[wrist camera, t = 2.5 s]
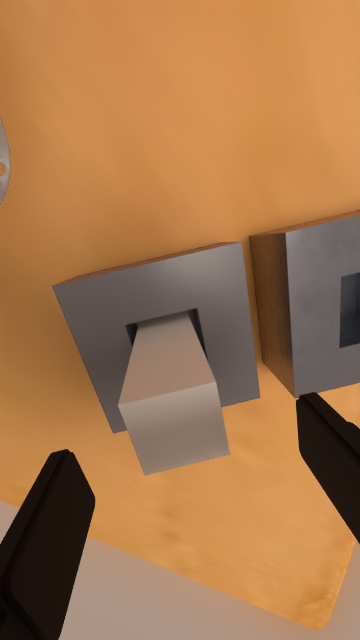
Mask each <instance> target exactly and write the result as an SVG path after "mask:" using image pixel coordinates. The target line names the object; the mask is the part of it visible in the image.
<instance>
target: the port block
mask: <svg viewBox="0 0 360 640" xmlns="http://www.w3.org/2000/svg"><path fill="white" fill-rule="evenodd" d="M250 245H251V255H252V264H253V273H254V282H255V292H256V301H257V310H258V320H259V329H260V338H261V347H262V357H263V363H264V364H265V365H266V366H267V367H268V368H269V369H270V371H271V372H272V373H273V374H274V375H275V376H276V377H277V379H278V380H279V381H280V382H281V383H282V384H283V385H284V386H285V388H286V389H287V390H288V391H289V392H290V393H291V394H292V395H293V397H294V398H299V396H300V395H303V394H307V393H311V392H316V393H319V392H323V391H327V390H331V389H336V388H340V387H344V386H348V385H352V384H356V383H360V210H359V211H354V212H350V213H346V214H342V215H337V216H333V217H329V218H324V219H320V220H316V221H312V222H307V223H303V224H299V225H295V226H290V227H286V228H282V229H277V230H273V231H269V232H265V233H260V234H256V235H252V236H250Z"/></svg>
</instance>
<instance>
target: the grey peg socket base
mask: <svg viewBox="0 0 360 640" xmlns="http://www.w3.org/2000/svg"><path fill="white" fill-rule="evenodd" d="M52 287H53V290H54V292H55V294H56V297H57V299H58V302H59V304H60V307H61V309H62V311H63V314H64V316H65V319H66V321H67V323H68V326H69V328H70V331H71V333H72V335H73V338H74V340H75V343H76V345H77V348H78V350H79V352H80V355H81V357H82V360H83V362H84V364H85V367H86V369H87V372H88V374H89V376H90V379H91V381H92V384H93V386H94V389H95V391H96V393H97V396H98V398H99V401H100V403H101V405H102V408H103V410H104V413H105V415H106V417H107V420H108V422H109V425H110V427H111V429H112V432H113V433H117V432H122V431H126V430H127V428H126V425H125V423H124V420H123V417H122V415H121V412H120V410H119V407H118V403H119V399H120V395H121V392H122V388H123V384H124V380H125V376H126V372H127V368H128V364H129V360H130V357H131V353H132V349H133V345H134V341H135V337H136V333H137V329H138V325H139V322H140V321H144V320H148V319H152V318H157V317H161V316H165V315H169V314H174V313H178V312H182V311H187V313H188V315H189V318H190V320H191V323H192V325H193V327H194V330H195V332H196V335H197V337H198V339H199V342H200V344H201V347H202V349H203V352H204V354H205V356H206V359H207V361H208V364H209V366H210V368H211V371H212V373H213V376H214V378H215V380H216V384H217V389H218V394H219V400H220V405H221V407H224V406H228V405H233V404H237V403H241V402H245V401H249V400H253V399H257V398H260V390H259V382H258V373H257V365H256V357H255V348H254V340H253V332H252V323H251V315H250V307H249V298H248V290H247V281H246V273H245V265H244V256H243V248H242V242H222V243H218V244H213V245H209V246H205V247H200V248H196V249H192V250H188V251H183V252H179V253H175V254H170V255H166V256H162V257H158V258H153V259H149V260H145V261H141V262H136V263H132V264H128V265H123V266H119V267H115V268H111V269H106V270H102V271H98V272H94V273H89V274H85V275H81V276H77V277H74V278H72V279H69V280H67V281H64V282H61V283H59V284H56V285H54V286H52Z"/></svg>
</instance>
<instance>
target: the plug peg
mask: <svg viewBox="0 0 360 640" xmlns="http://www.w3.org/2000/svg"><path fill="white" fill-rule="evenodd" d="M118 407H119V410H120V412H121V415H122V417H123V420H124V423H125V425H126V428H127V430H128V433H129V436H130V438H131V441H132V443H133V446H134V449H135V451H136V454H137V456H138V459H139V462H140V464H141V467H142V469H143V472H144V475H149V474H153V473H157V472H161V471H165V470H169V469H173V468H177V467H181V466H185V465H189V464H193V463H197V462H201V461H205V460H210V459H214V458H218V457H222V456H226V455H230V451H229V446H228V441H227V435H226V430H225V425H224V420H223V415H222V410H221V405H220V400H219V394H218V389H217V384H216V380H215V378H214V376H213V373H212V371H211V368H210V366H209V364H208V361H207V359H206V356H205V354H204V352H203V349H202V347H201V344H200V342H199V339H198V337H197V335H196V332H195V330H194V327H193V325H192V323H191V320H190V318H189V315H188V313H187V311H182V312H178V313H174V314H169V315H165V316H161V317H157V318H152V319H148V320H144V321H140V322H139V325H138V329H137V333H136V337H135V341H134V345H133V349H132V353H131V357H130V360H129V364H128V368H127V372H126V376H125V380H124V384H123V388H122V392H121V395H120V399H119V403H118Z"/></svg>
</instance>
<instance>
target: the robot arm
mask: <svg viewBox="0 0 360 640" xmlns="http://www.w3.org/2000/svg"><path fill="white" fill-rule="evenodd" d="M0 163H1V164H3V165H4V167H5V170H6V172H5V174H4V175H3V176H0V204H1V202H2V201H3V199H4V196H5V193H6V190H7V188H8V184H9V176H10V151H9V146H8V142H7V137H6V133H5V129H4V127H3V124H2V122H1V119H0ZM296 411H297V426H298V440H299V450H300V453H301V456H302V458H303V459H304V461H305V462H306V464H307V465H308V467H309V468H310V470H311V471H312V473H313V474H314V476H315V477H316V479H317V480H318V482H319V483H320V485H321V486H322V488H323V490H324V491H325V493H326V494H327V496H328V497H329V499H330V500H331V502H332V503H333V505H334V506H335V508H336V509H337V511H338V512H339V514H340V515H341V517H342V518H343V520H344V521H345V523H346V524H347V526H348V527H349V529H350V530H351V532H352V533H353V535H354V536H355V538H356V539H357V541H358V542H359V544H360V429H359V428H358V427H357V426H356V425H354V424H353V423H351V422H347V421H346V420H345V419H344V418H343V417H342V416H340V415H339V414H338V413H337V412H336V411H335V410H334V409H333V408H332V407H331V406H330V405H329V404H328V403H327V402H326V401H325V400H324V399H322V398H321V397H320V396H319V395H318V394H317V393H316V392H311V393H307V394H303V395H300V396H299V399H298V400H296ZM94 508H95V496H94V494H93V492H92V490H91V488H90V486H89V483H88V481H87V479H86V477H85V475H84V473H83V471H82V469H81V467H80V465H79V463H78V461H77V459H76V457H75V455H74V453H73V452H70V451H69V450H68V449H65V450H61V451H57V452H53V453H51V454H50V456H49V457H48V459H47V461H46V463H45V464H44V466H43V468H42V470H41V472H40V473H39V475H38V477H37V479H36V481H35V482H34V484H33V486H32V488H31V490H30V491H29V493H28V495H27V497H26V499H25V500H24V502H23V504H22V506H21V508H20V509H19V512H18V513H17V515H16V517H15V519H14V520H13V522H12V524H11V526H10V528H9V529H8V531H7V533H6V535H5V537H4V538H3V540H2V542H1V544H0V640H58V639H59V637H60V634H61V631H62V627H63V623H64V620H65V616H66V612H67V609H68V605H69V601H70V597H71V593H72V589H73V585H74V582H75V579H76V574H77V571H78V567H79V563H80V560H81V556H82V552H83V549H84V545H85V541H86V538H87V534H88V530H89V526H90V523H91V519H92V515H93V511H94Z"/></svg>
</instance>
